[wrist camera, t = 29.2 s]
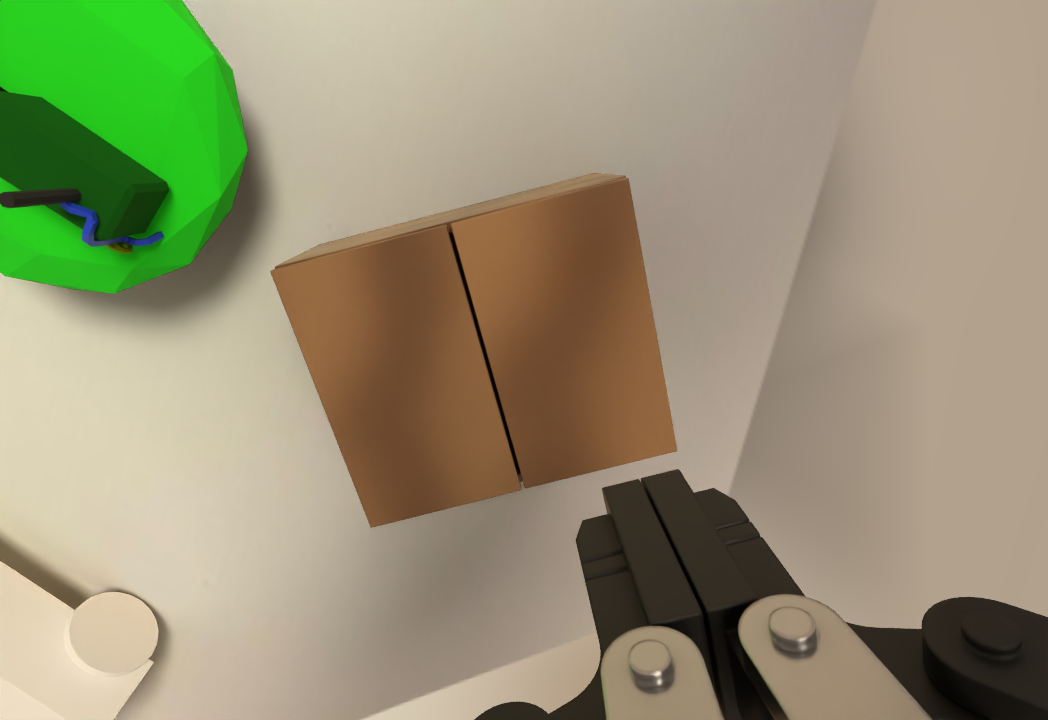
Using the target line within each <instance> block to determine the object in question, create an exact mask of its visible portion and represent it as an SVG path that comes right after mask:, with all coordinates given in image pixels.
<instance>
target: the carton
mask: <svg viewBox="0 0 1048 720" xmlns="http://www.w3.org/2000/svg"><path fill="white" fill-rule="evenodd" d="M624 178H626V176H622V175H612V174H601V173H593V174H589V175H585V176H581V177H577V178H573V179H570V180H566V181H562V182H558V183H554V184H550V185H546V186H543V187H539V188H535V189H531V190H527V191H523V192H520V193H516V194H512V195H508V196H504V197H500V198H497V199H493V200H489V201H485V202H481V203H477V204H473V205H470V206H466V207H462V208H458V209H454V210H450V211H447V212H443V213H439V214H435V215H431V216H427V217H424V218H420V219H416V220H412V221H408V222H404V223H401V224H397V225H393V226H389V227H385V228H381V229H377V230H374V231H370V232H366V233H362V234H358V235H354V236H351V237H347V238H343V239H339V240H335V241H331V242H328V243H324V244H320V245H318V246H316V247H314V248H312V249H310V250H308V251H305V252H303V253H301V254H299V255H297V256H295V257H293V258H291V259H289V260H287V261H285V262H283V263H281V264H279V265H277V266H275V269H274V270H271V271H270V272H271V275H272V277H273V280H274V282H275V285H276V287H277V290H278V292H279V295H280V298H281V300H282V303H283V305H284V308H285V310H286V313H287V315H288V318H289V320H290V323H291V325H292V328H293V331H294V333H295V336H296V338H297V341H298V343H299V346H300V348H301V351H302V353H303V356H304V359H305V361H306V364H307V366H308V369H309V371H310V374H311V376H312V379H313V381H314V384H315V387H316V389H317V392H318V394H319V397H320V399H321V402H322V404H323V407H324V409H325V412H326V415H327V417H328V420H329V422H330V425H331V427H332V430H333V432H334V435H335V437H336V440H337V443H338V445H339V448H340V450H341V453H342V455H343V458H344V460H345V463H346V465H347V468H348V471H349V473H350V476H351V478H352V481H353V483H354V486H355V488H356V491H357V493H358V496H359V499H360V501H361V504H362V506H363V509H364V511H365V514H366V516H367V519H368V521H369V524H370V527H371V528H372V527H376V526H380V525H384V524H388V523H392V522H396V521H400V520H404V519H408V518H412V517H416V516H420V515H424V514H428V513H432V512H436V511H440V510H444V509H448V508H452V507H456V506H460V505H464V504H468V503H472V502H476V501H480V500H484V499H488V498H492V497H496V496H500V495H504V494H508V493H512V492H516V491H520V490H521V484H520V482H523V479H522V476H521V472H520V468H519V465H518V461H517V458H516V454H515V451H514V447H513V444H512V440H511V437H510V433H509V430H508V426H507V422H506V419H505V415H504V412H503V408H502V405H501V401H500V398H499V394H498V391H497V387H496V384H495V380H494V377H493V373H492V369H491V366H490V362H489V359H488V355H487V352H486V348H485V345H484V341H483V338H482V334H481V331H480V327H479V323H478V320H477V316H476V313H475V309H474V306H473V302H472V299H471V295H470V292H469V288H468V285H467V281H466V277H465V274H464V270H463V267H462V263H461V260H460V256H459V253H458V249H457V246H456V242H455V239H454V235H453V231H452V228H451V223H454V222H458V221H462V220H466V219H469V218H473V217H477V216H481V215H485V214H489V213H493V212H496V211H500V210H504V209H508V208H512V207H516V206H520V205H523V204H527V203H531V202H535V201H539V200H543V199H546V198H550V197H554V196H558V195H562V194H566V193H570V192H573V191H577V190H581V189H585V188H589V187H593V186H597V185H600V184H604V183H608V182H612V181H616V180H620V179H624Z"/></svg>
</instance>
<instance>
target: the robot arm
mask: <svg viewBox="0 0 1048 720" xmlns="http://www.w3.org/2000/svg"><path fill="white" fill-rule="evenodd" d="M602 492H603V497H604V501H605V505H606V510H607V515H603V516H598V517H594V518H590V519H586V520H582V523H581V526H580V529H579V532H578V535H577V538H576V544H577V548H578V552H579V557H580V561H581V565H582V570H583V574H584V578H585V583H586V587H587V591H588V596H589V600H590V604H591V609H592V613H593V617H594V622H595V626H596V630H597V635H598V638H599V643H600V650H601V656H600V663H599V667H598V670H597V672H596V674H595V676H594V678H593V679H592V681H591V683H590V684H589V685H588V686H587V687H586V689H585V690H584V691H583V692H582V693H581V694H579V695H578V696H577V697H576V698H574V699H573V700H571V701H570V702H568V703H566V704H565V705H563V706H561V707H560V708H558V709H557V710H555V711H553V712H551V713H550V714H548V713H547V712H546V711H544V710H543V709H542V708H539V707H538V706H536V705H533V704H530V703H526V702H509V703H504V704H500V705H497V706H495V707H492V708H491V709H489V710H487V711H485V712H484V713H482V714H481V715H479V716H478V717H477V718H476V719H475V720H1048V617H1045V616H1042V615H1039V614H1036V613H1033V612H1030V611H1027V610H1024V609H1021V608H1018V607H1015V606H1012V605H1009V604H1006V603H1002V602H998V601H995V600H990V599H984V598H975V597H958V598H951V599H947V600H944V601H941V602H939V603H937V604H935V605H933V606H932V607H931V608H929V609H928V611H927V612H926V613H925V615H924V617H923V620H922V629H901V628H874V627H865V626H859V625H854V624H850V623H847V622H845V621H844V620H843V619H842V618H841V617H840V616H839V615H838V614H837V613H836V612H835V611H834V610H832V609H831V608H830V607H828V606H827V605H825V604H823V603H821V602H819V601H817V600H814V599H811V598H808V597H806V596H805V595H804V594H803V593H802V591H801V590H800V588H799V587H798V586H797V584H796V583H795V582H794V580H793V579H792V577H791V576H790V575H789V573H788V572H787V571H786V569H785V568H784V567H783V565H782V564H781V562H780V561H779V560H778V558H777V557H776V556H775V554H774V553H773V551H772V550H771V549H770V547H769V546H768V544H767V543H766V542H765V540H764V539H763V538H762V537H760V534H759V532H758V531H757V529H756V528H755V527H754V525H753V524H752V523H751V522H749V519H748V517H747V516H746V514H745V513H744V512H743V510H742V509H741V507H740V506H739V505H738V503H737V502H736V501H735V500H734V499H732V498H730V497H728V496H727V495H725V494H723V493H721V492H720V491H718V490H716V489H714V488H712V489H708V490H703V491H699V492H695V493H693V491H692V489H691V488H690V486H689V485H688V483H687V481H686V480H685V478H684V477H683V475H682V473H681V472H680V471H679V470H678V469H676V470H672V471H668V472H664V473H660V474H656V475H652V476H648V477H644V478H641V482H640V480H639V479H637V480H633V481H629V482H624V483H620V484H616V485H612V486H608V487H604V488H602Z"/></svg>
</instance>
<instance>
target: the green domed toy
mask: <svg viewBox="0 0 1048 720" xmlns="http://www.w3.org/2000/svg"><path fill="white" fill-rule="evenodd" d="M247 153H248V148H247V143H246V138H245V132H244V127H243V122H242V117H241V112H240V106H239V101H238V96H237V91H236V85H235V80H234V75H233V70H232V69H231V67H230V66H229V64H228V63H227V62H226V60H225V59H224V58H223V56H222V55H221V53H220V52H219V51H218V49H217V48H216V47H215V45H214V44H213V42H212V41H211V40H210V38H209V37H208V36H207V34H206V33H205V31H204V30H203V29H202V27H201V26H200V25H199V23H198V22H197V20H196V19H195V18H194V16H193V15H192V14H191V12H190V11H189V9H188V8H187V7H186V5H185V4H184V3H183V1H182V0H0V272H1V273H2V274H3V275H4V276H8V277H13V278H18V279H23V280H28V281H33V282H39V283H44V284H49V285H54V286H59V287H64V288H69V289H74V290H84V291H94V292H103V293H113V294H114V293H117V292H119V291H122V290H124V289H127V288H130V287H132V286H135V285H137V284H140V283H143V282H145V281H148V280H150V279H153V278H155V277H158V276H161V275H163V274H166V273H168V272H171V271H174V270H176V269H179V268H181V267H184V266H186V265H189V264H190V263H191V262H192V261H193V259H194V258H195V257H196V255H197V254H198V253H199V251H200V250H201V249H202V248H203V246H204V245H205V244H206V242H207V241H208V240H209V238H210V237H211V236H212V234H213V233H214V232H215V230H216V229H217V228H218V226H219V225H220V224H221V222H222V221H223V220H224V218H225V217H226V216H227V214H228V213H229V212H230V210H231V208H232V205H233V201H234V198H235V194H236V191H237V187H238V184H239V181H240V177H241V174H242V170H243V167H244V163H245V160H246V156H247Z"/></svg>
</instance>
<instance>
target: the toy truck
mask: <svg viewBox="0 0 1048 720" xmlns="http://www.w3.org/2000/svg"><path fill="white" fill-rule="evenodd" d="M158 633H159V630H158V626H157V621H156V618H155V617H154V615H153V613H152V612H151V610H150V608H148V607H147V606H146V605H145V604H144V603H143V602H142V601H141V600H139V599H137V598H135V597H133V596H131V595H129V594H125V593H120V592H106V593H101V594H98V595H95V596H93V597H90V598H89V599H87V600H86V601H85V602H83V603H82V604H81V605H80V606H79V607H77V608H76V609H75V610H74V609H72V608H71V607H69V606H68V605H66V604H65V603H63V602H62V601H60V600H59V599H57V598H56V597H54V596H53V595H51V594H50V593H48V592H47V591H45V590H43V589H42V588H40V587H39V586H37V585H36V584H34V583H33V582H31V581H30V580H28V579H27V578H25V577H24V576H22V575H21V574H19V573H18V572H16V571H15V570H13V569H12V568H10V567H9V566H7V565H6V564H4V563H3V562H1V561H0V720H114V718H115V717H116V715H117V714H118V712H119V711H120V710H121V708H122V707H123V705H124V704H125V703H126V701H127V700H128V698H129V697H130V695H131V694H132V693H133V691H134V690H135V688H136V687H137V686H138V684H139V683H140V681H141V680H142V679H143V677H144V676H145V674H146V673H147V671H148V670H149V669H150V667H151V666H152V664H153V663H154V662H152V661H151V660H149V659H148V658H149V657H150V656H151V655H152V654H153V651H154V649H155V647H156V645H157V642H158Z"/></svg>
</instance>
